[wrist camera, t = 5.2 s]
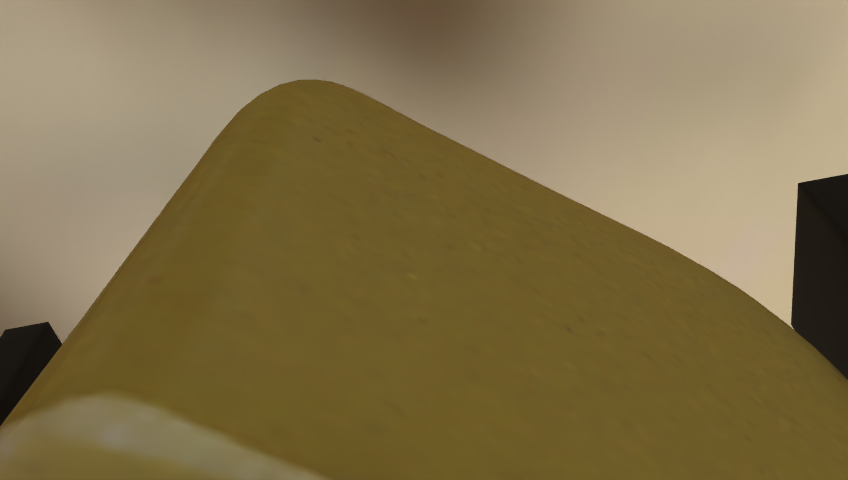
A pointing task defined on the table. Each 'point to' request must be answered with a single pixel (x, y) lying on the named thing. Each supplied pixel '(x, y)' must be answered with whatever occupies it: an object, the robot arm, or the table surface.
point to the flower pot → (413, 330)
